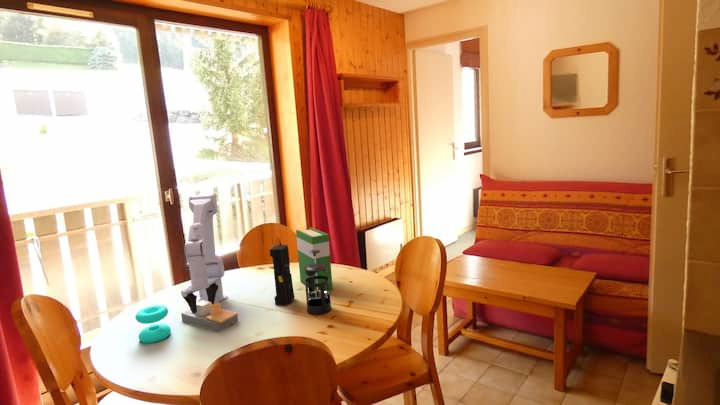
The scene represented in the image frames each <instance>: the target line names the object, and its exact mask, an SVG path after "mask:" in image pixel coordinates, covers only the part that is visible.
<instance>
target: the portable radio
mask: <svg viewBox="0 0 720 405" xmlns="http://www.w3.org/2000/svg"><path fill="white" fill-rule="evenodd" d="M278 240H279V243H278V244H277V245H274V246H273V247H272V248H270V249H269V255H270V257H271V258H272V265H273V275H274V286H275V287H274V288H275V294H276V295H275V296H274V305H276V306H278V305H279V306H289V305H290V304H291V303H292V302H293V300H294V299H295V298H296V296H295V292H294V285H293V277H292V273H291V269H290V265H291V264H290V253H289V252H290V251H289V246H288V244H282V242H281V239H280V238H279V239H278Z"/></svg>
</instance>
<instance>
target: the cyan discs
mask: <svg viewBox="0 0 720 405" xmlns="http://www.w3.org/2000/svg"><path fill="white" fill-rule="evenodd" d="M168 314H169V310H168V308H167V307H166V305H165V306H164V305H161V304H160V305H159V304H157V305H150V306H146V307H144V308H142V309H140V310H138V311H137V313H136V314H135V320H136V321H137V322H138V323H139V324H144V325H145V324H148V326H146V327H145V328H143V329H141V331H139V333H138V340H139V341H140V342H141V343H144V344H153V343H157V342H160V341H162V340H165V339H166V338H168V336H170V334H171V332H172V329H171V327H170V325H167V324H166V323H157V322H160V321H162V320H163V319H165V317H166V316H168ZM150 324H151V325H150Z"/></svg>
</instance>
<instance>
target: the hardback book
mask: <svg viewBox="0 0 720 405" xmlns="http://www.w3.org/2000/svg"><path fill="white" fill-rule="evenodd" d="M295 235H296V244H297V257H298V258H297V259H298V268H299V269H298V270H299V280H300V283H301V284H302V285H304V286H305V279H307V278H308V275H306V274H305V270H304V267H305V266H307V265H310V264H315V259H316V263H323V264H327V265H328V268H327V272H325V271H323V270H322V271H318V272H317V276H327V277H328V278H329V291H333V277H332V265H331V263H332V262H331V250H330V239H329V234H328V233H326V232H323V231H321V230H318V229H316V228H313V227H309V229H306V230H299V229H296V230H295ZM312 250H319V251H320V252H319V253H316V256H315V258H314V255H313V254H310V253H309V251H312ZM313 276H316V273H315V274H314V275H313ZM325 281H326V280H325V279H317V282H316V279H314V282H315V284H317V283H322V282H325ZM307 283H308V282H307ZM308 289H309V287H308ZM315 290H317V287H315ZM318 290H320V287H318ZM325 290H326V291H327V285H325Z"/></svg>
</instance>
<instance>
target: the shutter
mask: <svg viewBox="0 0 720 405" xmlns="http://www.w3.org/2000/svg"><path fill="white" fill-rule="evenodd" d="M221 306H222V305H221V302H220V301H219V302H217V303H214V304H212V305H210V314H211V315H209V316H207V317H206V319H209V320H212V321H216V322H219V323H222V322H224V321H226V320H228V319H230V318H232V317H234V316H236V315H237V316H238V314H239V313H238V312H236V311H232V310H228V309H223V308H221ZM221 309H222V310H221Z"/></svg>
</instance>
